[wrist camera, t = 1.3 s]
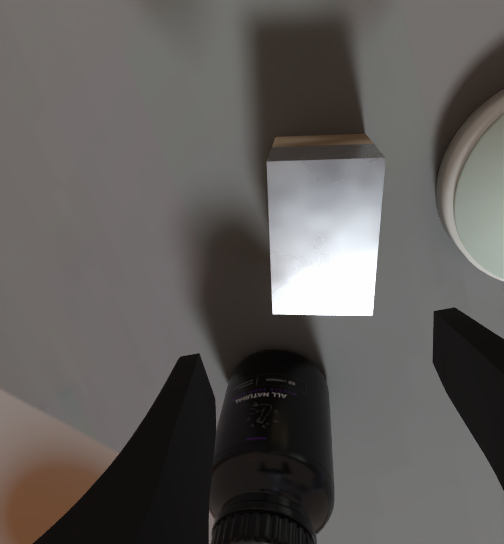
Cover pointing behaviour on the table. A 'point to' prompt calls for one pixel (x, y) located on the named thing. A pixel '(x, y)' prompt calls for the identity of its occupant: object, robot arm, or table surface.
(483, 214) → the stand
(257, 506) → the supplement bottle
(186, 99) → the table surface
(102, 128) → the table surface
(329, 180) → the block
